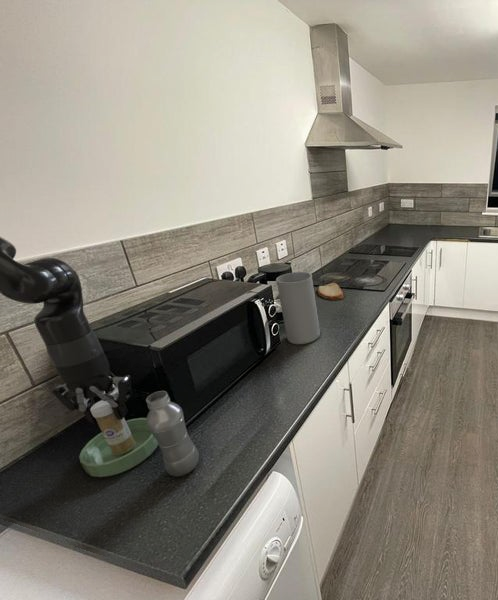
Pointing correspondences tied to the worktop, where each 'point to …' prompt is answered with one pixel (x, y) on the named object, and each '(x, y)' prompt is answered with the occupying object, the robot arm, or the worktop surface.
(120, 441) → the sprinkles bottle
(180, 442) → the plastic bottle
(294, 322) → the cylinder vase
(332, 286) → the slice of bread
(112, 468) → the bowl
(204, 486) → the worktop surface
